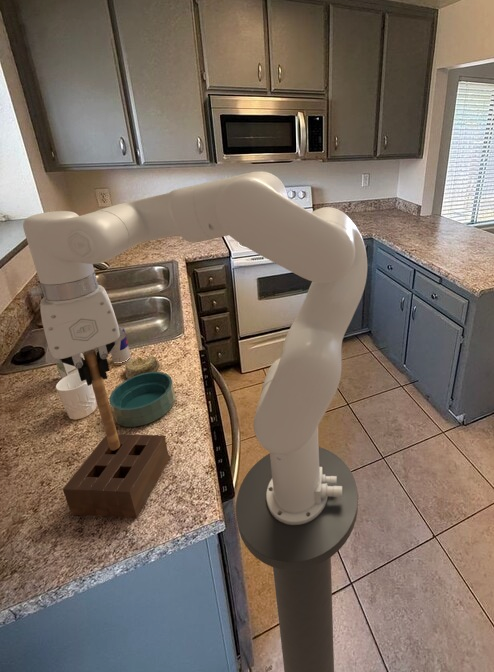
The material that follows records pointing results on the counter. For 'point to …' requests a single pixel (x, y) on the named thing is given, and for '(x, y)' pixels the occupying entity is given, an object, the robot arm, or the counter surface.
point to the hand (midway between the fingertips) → (96, 378)
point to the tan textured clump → (141, 366)
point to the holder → (117, 477)
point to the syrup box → (66, 369)
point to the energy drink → (120, 351)
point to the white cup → (76, 396)
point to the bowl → (142, 399)
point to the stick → (102, 399)
